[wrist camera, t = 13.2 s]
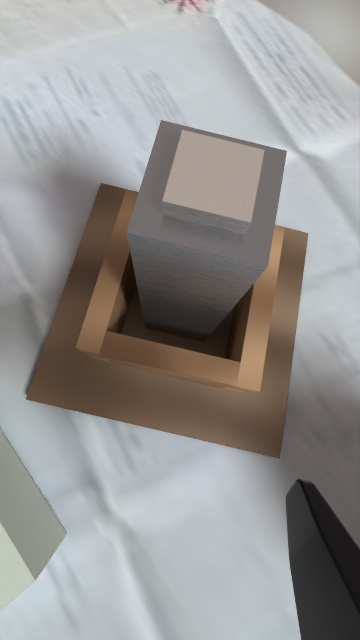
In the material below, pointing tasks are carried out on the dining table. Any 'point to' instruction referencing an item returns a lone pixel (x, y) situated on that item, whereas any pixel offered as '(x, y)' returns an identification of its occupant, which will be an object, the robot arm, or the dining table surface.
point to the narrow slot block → (22, 527)
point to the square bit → (202, 227)
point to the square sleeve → (171, 345)
